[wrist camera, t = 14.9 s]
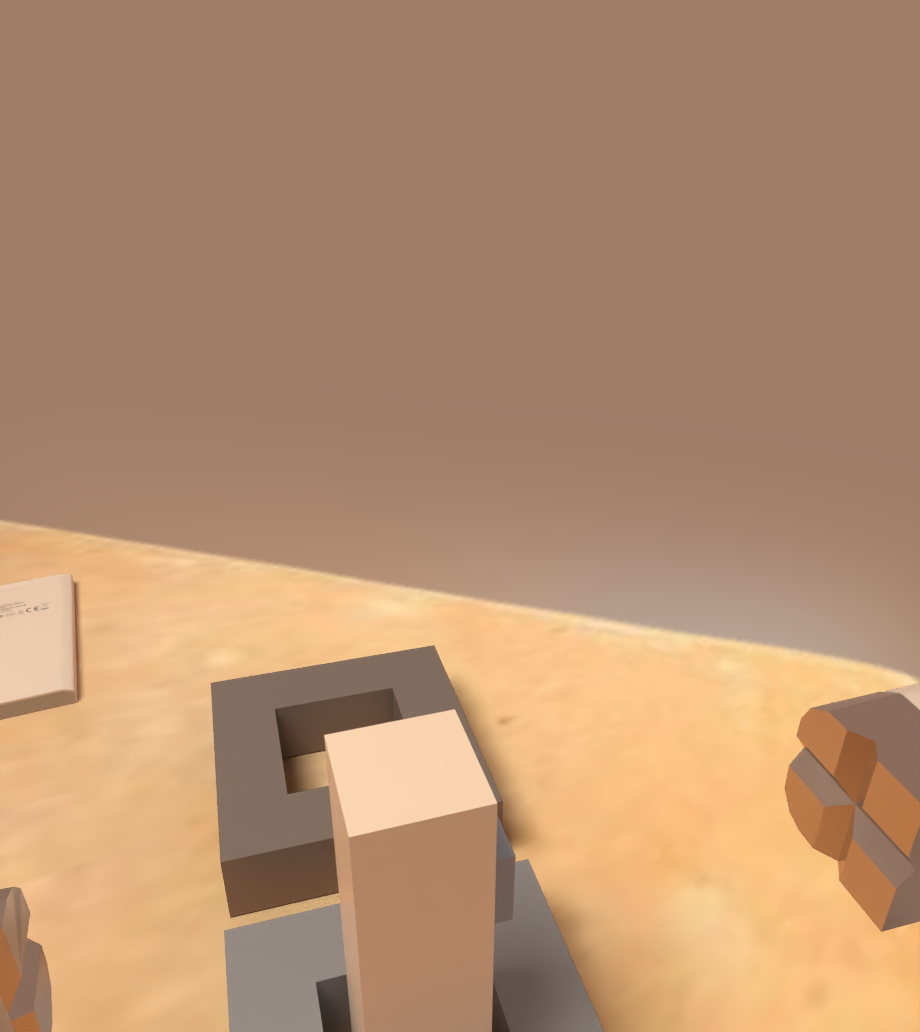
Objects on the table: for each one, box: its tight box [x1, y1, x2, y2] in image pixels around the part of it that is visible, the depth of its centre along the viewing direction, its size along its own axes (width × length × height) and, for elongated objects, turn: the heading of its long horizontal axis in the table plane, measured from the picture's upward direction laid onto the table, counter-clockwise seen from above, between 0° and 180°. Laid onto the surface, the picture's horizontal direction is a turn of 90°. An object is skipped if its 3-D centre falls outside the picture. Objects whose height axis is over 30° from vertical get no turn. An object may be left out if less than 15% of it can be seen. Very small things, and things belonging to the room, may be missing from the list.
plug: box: [324, 709, 515, 1032], centre depth 25 cm, size 4×4×14 cm
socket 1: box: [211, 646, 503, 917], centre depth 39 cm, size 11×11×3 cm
